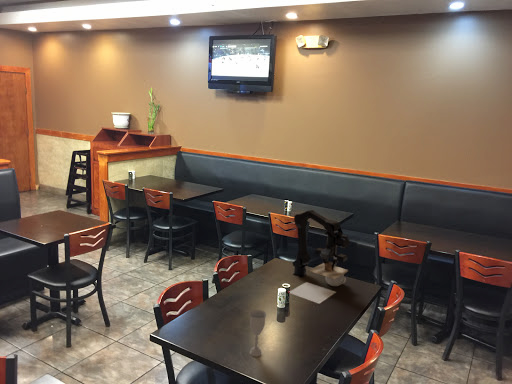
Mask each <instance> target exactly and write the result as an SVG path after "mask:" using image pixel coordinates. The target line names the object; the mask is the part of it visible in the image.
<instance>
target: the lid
mask: <svg viewBox="0 0 512 384" xmlns="http://www.w3.org/2000/svg"><path fill="white" fill-rule="evenodd" d="M332 264H333V262H332V261H328V262H327V263H325V264H324V262H322V263H321V264H319V265H316V266H315V267H312V268H310V270H309V271H310V272H311V273H315V274H316V275H320V276H324V277H329V278H332V279H336V278H338V277H340V276H341V275H343V274H344V275H345V274H346V273H348V272H349V269H345V268H342V267H339V266H337V265H336V266H335V268H334V269H333V270H332Z"/></svg>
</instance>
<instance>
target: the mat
mask: <svg viewBox="0 0 512 384" xmlns="http://www.w3.org/2000/svg"><path fill="white" fill-rule="evenodd" d="M289 292H290V293H289V294H290V295H294V296H296V297H300V298H302V299H304V300H308V301H311V302H314V303H315V304H319V305H320V304H321V303H322V302H324V301H326V300H327V299H329V298H330V297H332V296H333V295H335V294H336V293H337V291H334V290H332V289H329V288H326V287H323V286H319V285H316V284H313V283H310V282H307V281H305V282H304V283H302V284H301V285H299V286H297V287H295V288H293V289H291V290H289Z"/></svg>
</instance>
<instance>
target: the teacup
mask: <svg viewBox="0 0 512 384" xmlns="http://www.w3.org/2000/svg"><path fill="white" fill-rule="evenodd" d="M344 275H345V274H343V275H341V276H340V277H338V278H336V279H332V278H329V277H326V276H324V277H325V280H324V281H325V282H326V283H327V285H329V286H331V287H338V286H341V285H342V284H345V283H346V281H347V278H346V277H345V276H344Z"/></svg>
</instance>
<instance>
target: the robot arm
mask: <svg viewBox="0 0 512 384" xmlns="http://www.w3.org/2000/svg"><path fill="white" fill-rule="evenodd" d="M293 217H294V218H293V220H294V226H296V228H297V243H298V251H297V254H296V259H295V260H294V261H293V262H292V266H293V267H294V271H293V273H292V275H293V276H295V277H297V278H298V277H299V278H303V277H305V276H307V269H306V268H307V267H306V266H308V265H309V263H310V262H311V253H310V252H308V250H307V233H306V232H307V230H306V229H307V226H308V223H309V219H311V220H313V221H314V222H316V223H317V224H319V225H320V226H323V228H324V230H325V232H324V235H326V237H327V239H326V244H325V246H324V248H321V247H318V248H316V249H315V250H314V255H316V256H320V258H321V259H322V260H323V263H324V264H325V263H327V262H329V259H330V258H333V259H331V260H332V261H331V262H332V263H333V264H332V270H333V269H334V268H335V266H336V267H337V264H338V262H339V263H344V262H346V261H348V256H347V255H346V254H343V253H339V254H338V251H337V247H340V248H343V249H348V247H349V246H350V243H351V242H350V239H349V235H348V236H347V235H345V234H344V232H343V230H342V227H341V225H340V223H339V222H338V221H336V220H332V219H328V218H326V217H324V216H322V215H321V214H320V213H318V212H316V211H315V210H313V209H310V210H307V211H305V212H302V213H298V214H297V213H296V214H295V215H294V216H293Z"/></svg>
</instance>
